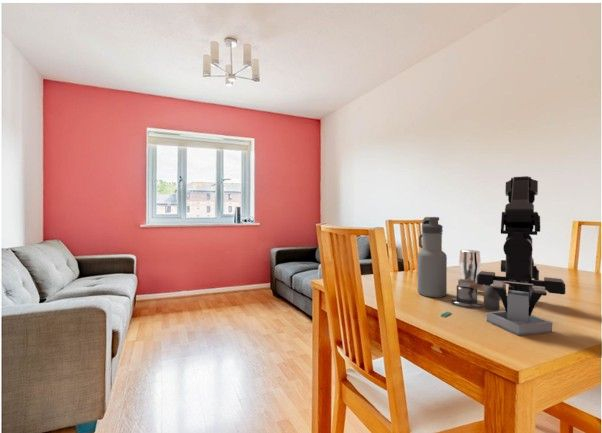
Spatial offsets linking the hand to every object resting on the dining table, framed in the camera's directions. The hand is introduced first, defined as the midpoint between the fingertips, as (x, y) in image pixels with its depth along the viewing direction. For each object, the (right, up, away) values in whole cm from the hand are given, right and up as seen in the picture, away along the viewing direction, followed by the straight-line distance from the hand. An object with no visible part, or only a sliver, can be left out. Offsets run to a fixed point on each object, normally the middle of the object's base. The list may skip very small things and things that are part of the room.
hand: (518, 314), depth 83 cm
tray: (0, -3, 0) cm, 3 cm away
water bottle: (-10, -3, +32) cm, 33 cm away
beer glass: (+6, -2, +35) cm, 36 cm away
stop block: (0, -1, 0) cm, 1 cm away
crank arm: (-2, -1, +15) cm, 15 cm away
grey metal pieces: (-8, -3, +16) cm, 18 cm away
